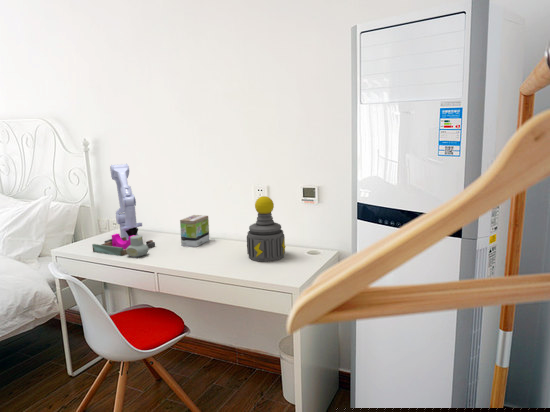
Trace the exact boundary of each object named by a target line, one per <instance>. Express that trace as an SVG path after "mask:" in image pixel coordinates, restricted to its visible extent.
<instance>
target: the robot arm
mask: <svg viewBox="0 0 550 412" xmlns="http://www.w3.org/2000/svg"><path fill="white" fill-rule="evenodd" d="M109 171H110V178H111V180H114V181H115V184H116V190H117V195H118V196H117V197H118V204H119V207H118V209H117V210H116V211H115V219H116V221H115V222H116V223H117V225H119V234H120V237H121V238H123V237H126V239H127V240H128V237H130V236H133V235H138V231H139V227H143V222H137V216H136V215H137V213H136V205H137V201H136V197H135V195H134V194H133V191H132V188H131V187H132V186H130V185H129V184H128V183H129V182H128V179H129V175H130V166H129V164H128V163H124V164H123V163H121V164H111V165H109Z"/></svg>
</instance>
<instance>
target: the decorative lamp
mask: <svg viewBox="0 0 550 412" xmlns="http://www.w3.org/2000/svg"><path fill="white" fill-rule="evenodd" d="M274 205H275V204H274V201H273V200H272V198H271V197H269V196H266V195H265V196H259V197H258V198H257V199H256V201H255V202H254V208H255V211H256V212H257V217H256V221H255V223H252V224H250V225H249V227H248V229H249V230H248V231H247V235H246V247H247V248H246V249H247V250H246V253H247V255H248V259H250V260H251V261H254V262H260V263H263V262H267V263H269V262H275V261H278V260H280V259H282V258H284V257H285V253H286V243H285V241H286V239H285V234H284V230H283V229H282V224H280V223H278V222H276V221H274V220H273V219H274V217H273V215H272V212H273V211H274V208H275V207H274ZM268 261H269V262H268Z"/></svg>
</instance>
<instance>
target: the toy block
mask: <svg viewBox="0 0 550 412" xmlns="http://www.w3.org/2000/svg"><path fill="white" fill-rule="evenodd" d="M133 236H136V235H133ZM131 237H132V236H130V237H128V240H125V241H123V240H122V239H121V233H114V234H111V239H112V244H113V247H121V248H123V250H124V249H127V248H128V246H130V245H131V241H130V238H131Z"/></svg>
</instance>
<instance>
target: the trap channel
mask: <svg viewBox="0 0 550 412" xmlns="http://www.w3.org/2000/svg"><path fill="white" fill-rule="evenodd" d="M121 239H122V240H123V241H125V240H127V239H126V237H123V238H121ZM155 242H156V241H155ZM155 242H154V240H153V239H151V240H147V241H145V244H146V245H147V246H148V248H149V250H150V249H152V248H155V247H156V243H155ZM91 245H92V252H93V253H99V254H106V255H113V256H121V257H123V256H126V255H128V254H127V252H126V249H123V248H121V247H113V244H112V238H110V239H107V240H104V241H103V243H102V244H98V243H92V244H91Z"/></svg>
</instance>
